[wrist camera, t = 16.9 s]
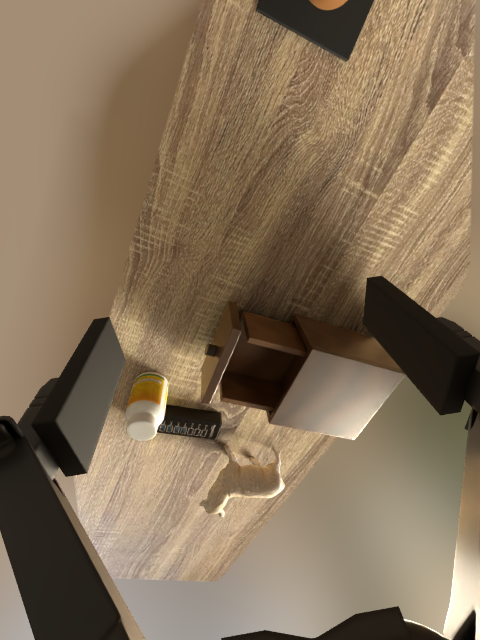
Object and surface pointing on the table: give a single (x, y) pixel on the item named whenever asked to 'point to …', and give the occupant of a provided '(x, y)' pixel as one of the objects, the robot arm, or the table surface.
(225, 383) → the drawer
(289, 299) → the table surface
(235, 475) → the figurine
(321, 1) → the brown cylinder
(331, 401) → the cabinet
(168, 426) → the multiport hub
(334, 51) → the mat
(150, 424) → the supplement bottle
